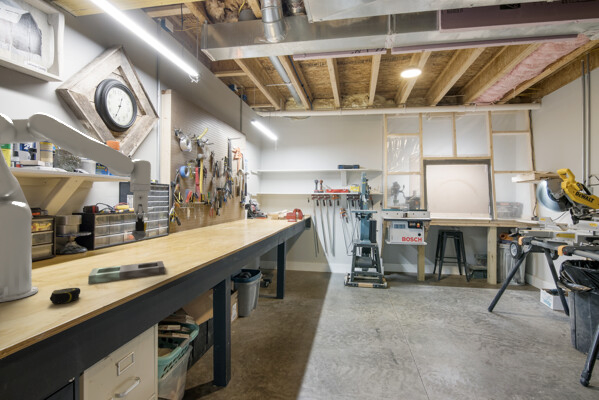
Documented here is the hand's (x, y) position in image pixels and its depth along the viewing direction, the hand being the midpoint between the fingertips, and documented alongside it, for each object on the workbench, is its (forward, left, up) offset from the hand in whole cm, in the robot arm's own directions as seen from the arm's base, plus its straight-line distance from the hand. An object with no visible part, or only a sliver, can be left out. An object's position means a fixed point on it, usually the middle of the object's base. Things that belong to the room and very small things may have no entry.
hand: (139, 229), depth 114 cm
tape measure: (-30, +8, -19) cm, 36 cm away
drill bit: (0, 0, -4) cm, 4 cm away
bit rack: (-2, +3, -19) cm, 19 cm away
